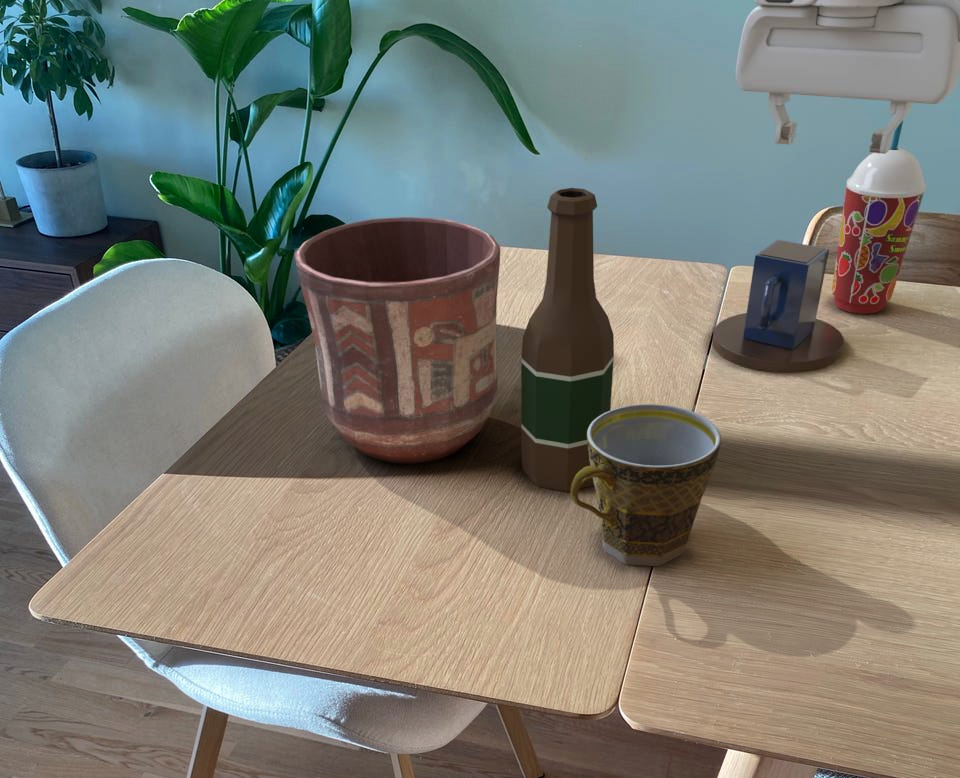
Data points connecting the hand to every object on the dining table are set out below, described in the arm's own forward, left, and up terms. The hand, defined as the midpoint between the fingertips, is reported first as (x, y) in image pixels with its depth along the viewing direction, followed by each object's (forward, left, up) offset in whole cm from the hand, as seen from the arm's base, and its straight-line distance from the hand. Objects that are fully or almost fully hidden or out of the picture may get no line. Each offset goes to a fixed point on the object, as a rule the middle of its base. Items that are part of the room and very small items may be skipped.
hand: (830, 147), depth 96 cm
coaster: (+2, +2, -20) cm, 20 cm away
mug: (+2, +3, -19) cm, 19 cm away
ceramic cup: (-3, +46, -20) cm, 50 cm away
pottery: (+24, +40, -20) cm, 50 cm away
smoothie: (-2, -14, -20) cm, 25 cm away
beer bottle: (+8, +38, -20) cm, 43 cm away
